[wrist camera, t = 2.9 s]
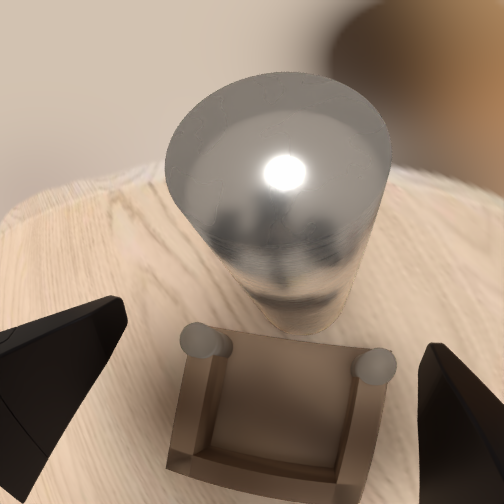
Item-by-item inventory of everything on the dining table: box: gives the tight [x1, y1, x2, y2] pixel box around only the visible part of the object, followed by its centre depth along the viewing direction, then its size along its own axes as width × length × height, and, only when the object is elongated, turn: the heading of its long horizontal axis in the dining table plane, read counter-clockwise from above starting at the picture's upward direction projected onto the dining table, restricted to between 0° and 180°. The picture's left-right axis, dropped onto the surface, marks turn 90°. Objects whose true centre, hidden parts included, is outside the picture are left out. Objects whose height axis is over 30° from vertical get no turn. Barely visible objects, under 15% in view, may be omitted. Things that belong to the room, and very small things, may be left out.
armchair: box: [166, 322, 397, 504], centre depth 15 cm, size 10×12×5 cm
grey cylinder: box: [165, 72, 392, 336], centre depth 13 cm, size 6×6×14 cm
